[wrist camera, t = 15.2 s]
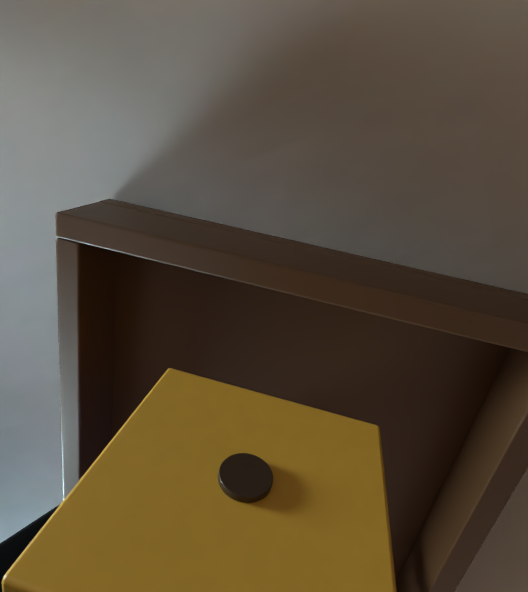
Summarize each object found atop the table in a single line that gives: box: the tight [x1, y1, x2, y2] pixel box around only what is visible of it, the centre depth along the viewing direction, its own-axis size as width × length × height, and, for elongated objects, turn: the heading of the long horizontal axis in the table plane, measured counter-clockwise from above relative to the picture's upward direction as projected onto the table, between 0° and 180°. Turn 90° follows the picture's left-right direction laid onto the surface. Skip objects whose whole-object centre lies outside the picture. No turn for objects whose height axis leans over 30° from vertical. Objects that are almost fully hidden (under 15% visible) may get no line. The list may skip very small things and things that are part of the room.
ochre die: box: [1, 368, 397, 592], centre depth 7 cm, size 5×4×5 cm
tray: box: [56, 199, 528, 592], centre depth 14 cm, size 15×13×3 cm
